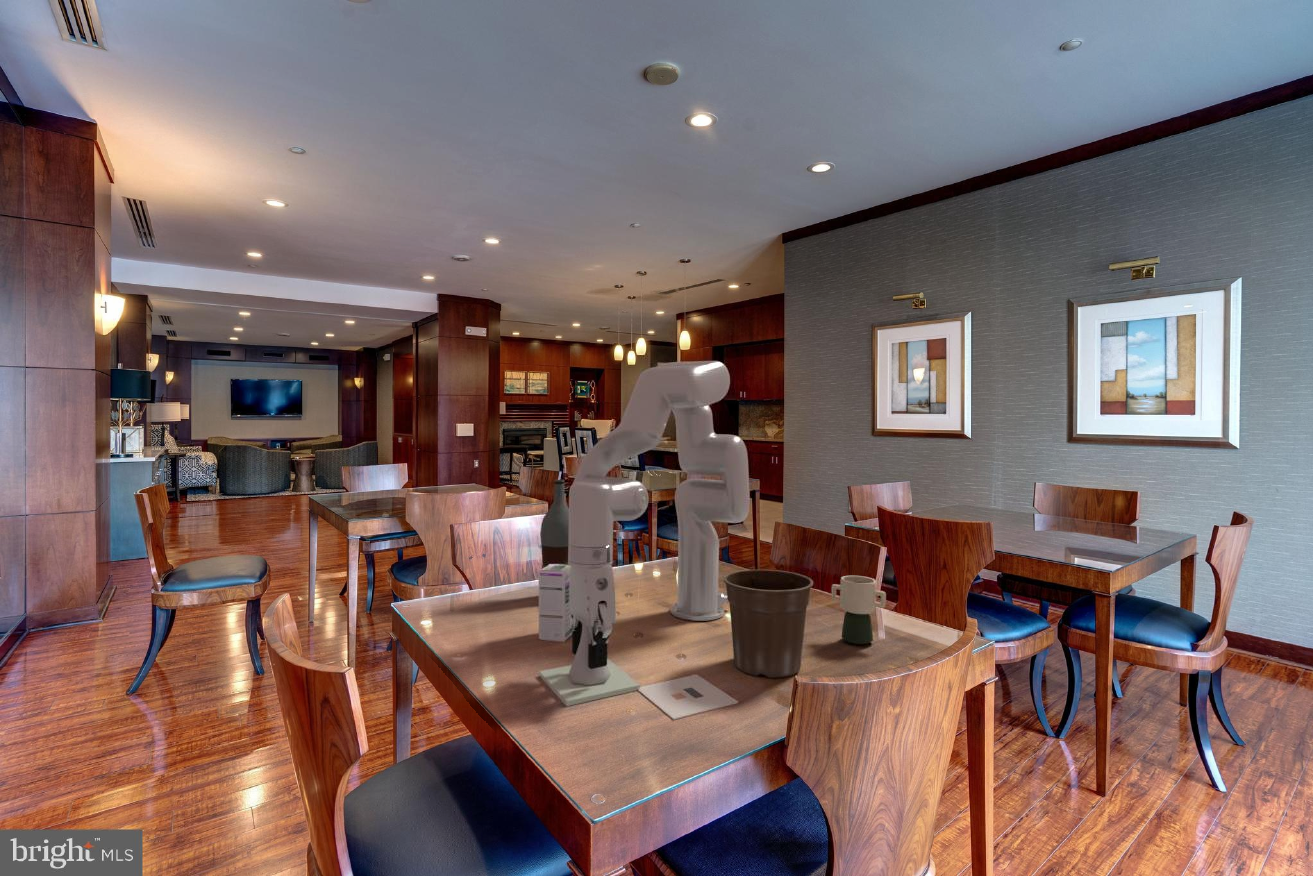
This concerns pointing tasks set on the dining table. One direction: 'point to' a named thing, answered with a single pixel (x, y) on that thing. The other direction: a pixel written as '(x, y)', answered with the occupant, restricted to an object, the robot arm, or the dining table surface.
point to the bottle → (555, 529)
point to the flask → (586, 663)
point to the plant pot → (768, 620)
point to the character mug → (858, 607)
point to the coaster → (585, 693)
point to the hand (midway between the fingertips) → (589, 658)
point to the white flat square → (686, 696)
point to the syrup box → (554, 603)
